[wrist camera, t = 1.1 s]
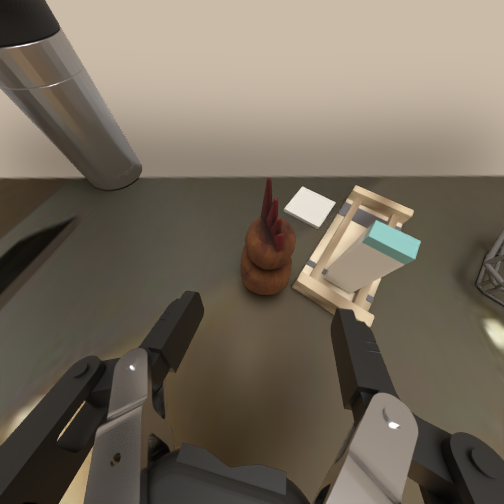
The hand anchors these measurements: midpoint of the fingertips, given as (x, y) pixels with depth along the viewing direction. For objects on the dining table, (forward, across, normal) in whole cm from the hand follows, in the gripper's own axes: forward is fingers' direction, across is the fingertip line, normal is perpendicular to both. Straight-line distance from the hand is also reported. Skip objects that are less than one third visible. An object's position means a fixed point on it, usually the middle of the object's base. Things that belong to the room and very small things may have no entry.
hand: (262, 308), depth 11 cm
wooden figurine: (+12, +2, +8) cm, 15 cm away
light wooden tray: (+18, -11, +7) cm, 22 cm away
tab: (+12, -8, +8) cm, 17 cm away
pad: (+24, -5, +3) cm, 25 cm away
